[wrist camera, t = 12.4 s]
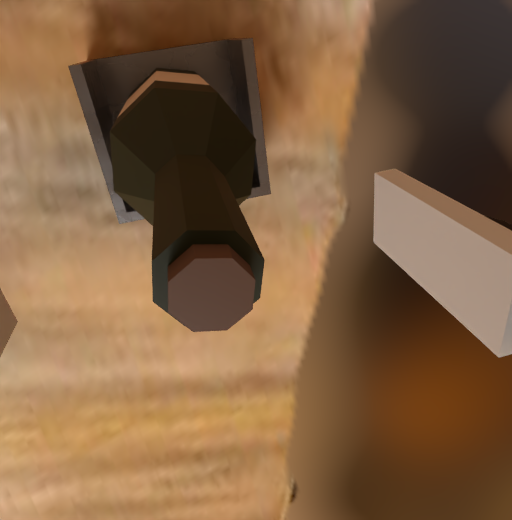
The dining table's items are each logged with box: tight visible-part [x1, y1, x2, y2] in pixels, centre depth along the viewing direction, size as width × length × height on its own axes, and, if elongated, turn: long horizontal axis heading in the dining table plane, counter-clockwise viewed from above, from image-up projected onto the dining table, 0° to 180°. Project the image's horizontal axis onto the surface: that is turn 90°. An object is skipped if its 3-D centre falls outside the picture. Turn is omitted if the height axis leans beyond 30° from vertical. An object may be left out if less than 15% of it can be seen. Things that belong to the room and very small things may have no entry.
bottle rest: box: [68, 38, 271, 224], centre depth 34 cm, size 13×12×8 cm
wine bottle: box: [110, 68, 264, 332], centre depth 24 cm, size 8×8×30 cm
